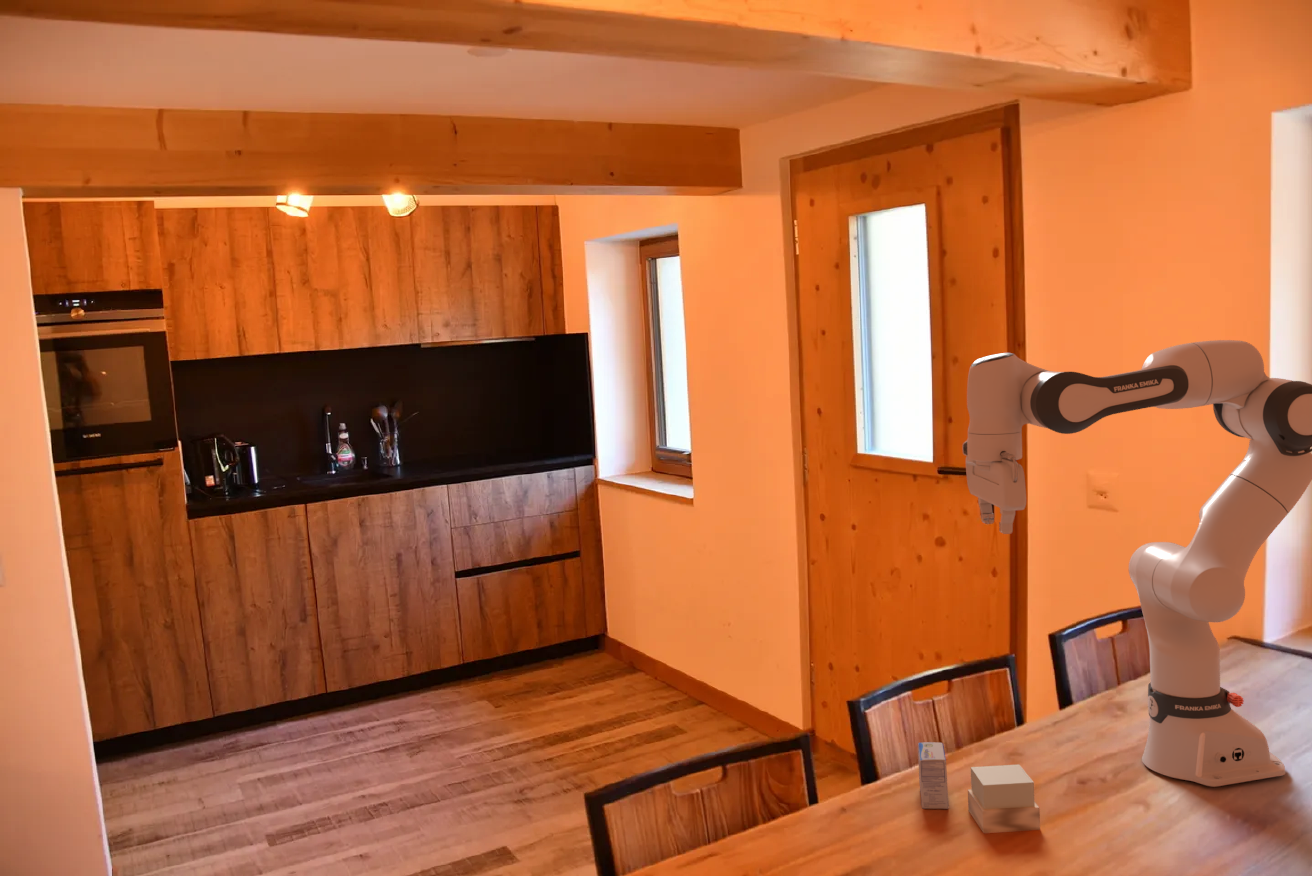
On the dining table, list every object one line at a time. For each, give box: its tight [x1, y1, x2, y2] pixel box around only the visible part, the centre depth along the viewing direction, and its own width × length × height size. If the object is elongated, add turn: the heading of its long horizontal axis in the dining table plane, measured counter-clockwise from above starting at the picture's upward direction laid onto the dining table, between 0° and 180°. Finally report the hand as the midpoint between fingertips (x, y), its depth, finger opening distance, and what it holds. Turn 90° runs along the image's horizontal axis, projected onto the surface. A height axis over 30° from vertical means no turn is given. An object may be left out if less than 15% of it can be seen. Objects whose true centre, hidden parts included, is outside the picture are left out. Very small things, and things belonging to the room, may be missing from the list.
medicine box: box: [917, 741, 950, 810], centre depth 179 cm, size 8×4×9 cm, turn 168°
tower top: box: [970, 763, 1036, 809], centre depth 170 cm, size 8×7×4 cm
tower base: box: [967, 789, 1041, 834], centre depth 171 cm, size 9×8×4 cm
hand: (996, 528), depth 182 cm, fingers open, 8 cm apart
